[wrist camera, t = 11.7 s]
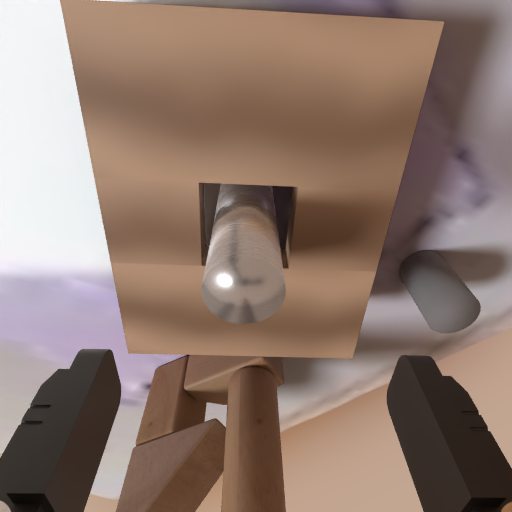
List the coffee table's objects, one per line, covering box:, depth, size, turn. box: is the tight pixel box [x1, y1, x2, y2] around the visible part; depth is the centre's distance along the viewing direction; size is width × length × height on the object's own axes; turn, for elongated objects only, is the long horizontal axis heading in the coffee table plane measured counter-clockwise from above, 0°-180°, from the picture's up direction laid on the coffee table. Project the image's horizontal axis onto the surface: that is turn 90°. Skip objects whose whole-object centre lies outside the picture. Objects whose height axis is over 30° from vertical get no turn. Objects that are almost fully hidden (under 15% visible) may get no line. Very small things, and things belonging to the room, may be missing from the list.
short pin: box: [400, 250, 481, 333], centre depth 25 cm, size 3×3×5 cm
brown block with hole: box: [60, 0, 444, 359], centre depth 21 cm, size 18×14×6 cm
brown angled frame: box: [116, 355, 286, 512], centre depth 24 cm, size 4×11×18 cm, turn 119°
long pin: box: [202, 184, 286, 324], centre depth 19 cm, size 3×3×11 cm
